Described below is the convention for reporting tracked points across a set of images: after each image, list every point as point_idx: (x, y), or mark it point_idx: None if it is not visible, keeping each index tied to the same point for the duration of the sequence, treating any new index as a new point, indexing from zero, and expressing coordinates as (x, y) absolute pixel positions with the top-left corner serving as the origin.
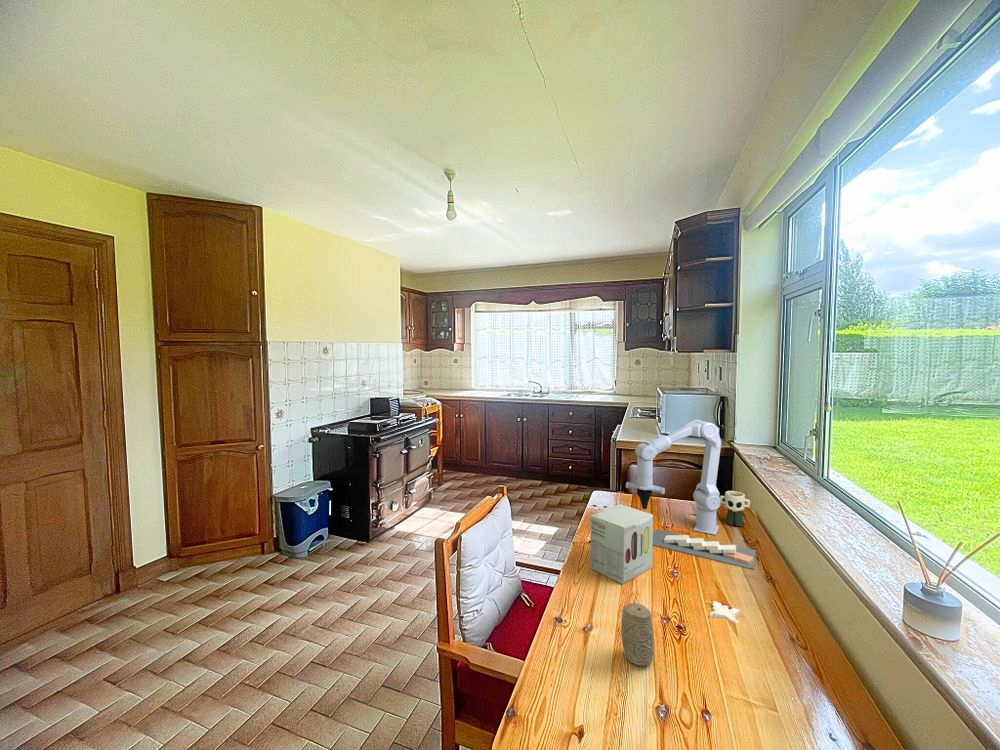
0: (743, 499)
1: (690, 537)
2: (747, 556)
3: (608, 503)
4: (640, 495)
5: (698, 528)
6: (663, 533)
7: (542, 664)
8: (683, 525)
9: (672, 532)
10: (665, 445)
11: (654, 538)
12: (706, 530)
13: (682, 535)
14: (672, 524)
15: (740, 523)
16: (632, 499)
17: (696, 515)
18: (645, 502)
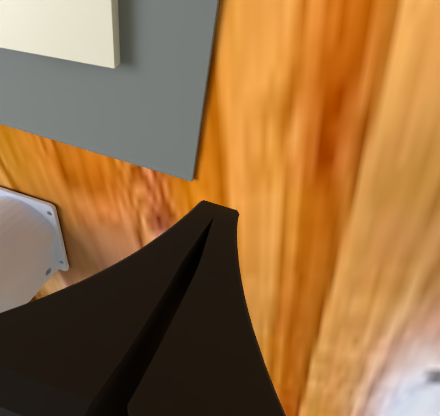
0: None
1: (33, 122)
2: None
3: (408, 396)
4: (212, 365)
5: (38, 215)
6: (152, 132)
7: None
8: (103, 244)
9: (117, 158)
10: None
11: (189, 29)
12: (4, 199)
13: (3, 41)
14: (141, 247)
15: None
16: (297, 407)
17: (14, 265)
18: (169, 246)
